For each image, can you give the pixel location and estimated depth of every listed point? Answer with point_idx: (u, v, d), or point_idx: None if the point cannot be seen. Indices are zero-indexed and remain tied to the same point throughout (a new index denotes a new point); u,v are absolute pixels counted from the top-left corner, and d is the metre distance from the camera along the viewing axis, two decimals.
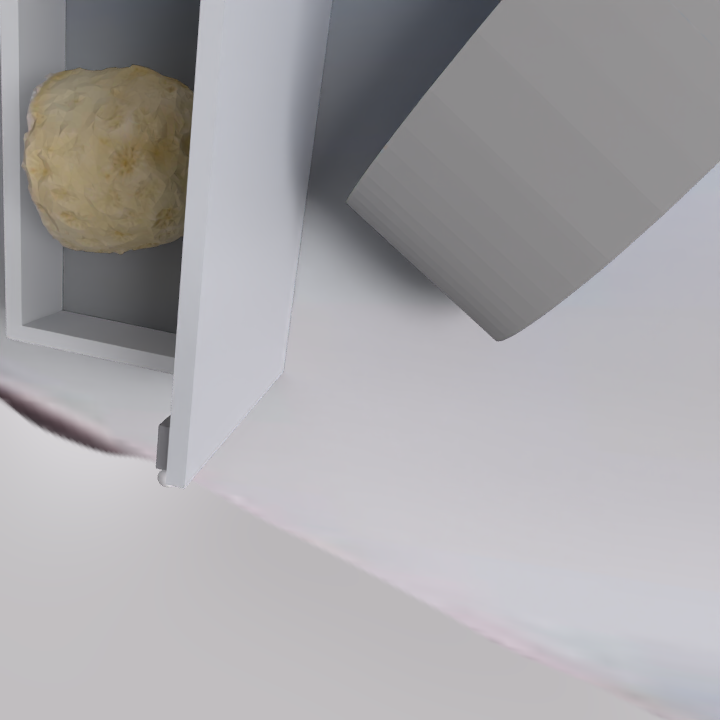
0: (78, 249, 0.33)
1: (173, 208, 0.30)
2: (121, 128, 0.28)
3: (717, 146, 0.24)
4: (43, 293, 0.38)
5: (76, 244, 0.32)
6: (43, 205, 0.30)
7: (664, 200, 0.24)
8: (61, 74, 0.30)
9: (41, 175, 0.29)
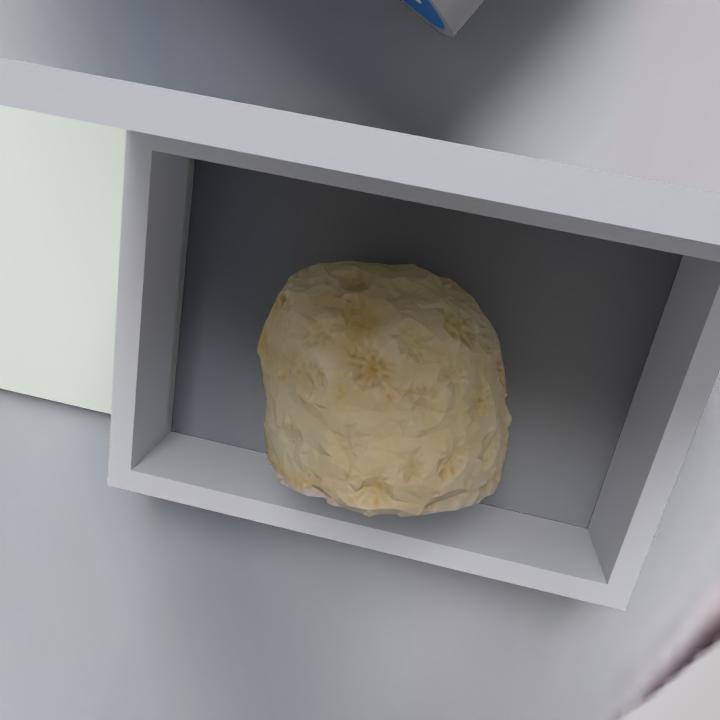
0: (499, 475, 0.23)
1: (445, 313, 0.20)
2: (324, 366, 0.19)
3: None
4: (560, 545, 0.27)
5: (490, 472, 0.21)
6: (427, 500, 0.20)
7: None
8: (268, 447, 0.23)
9: (384, 492, 0.20)
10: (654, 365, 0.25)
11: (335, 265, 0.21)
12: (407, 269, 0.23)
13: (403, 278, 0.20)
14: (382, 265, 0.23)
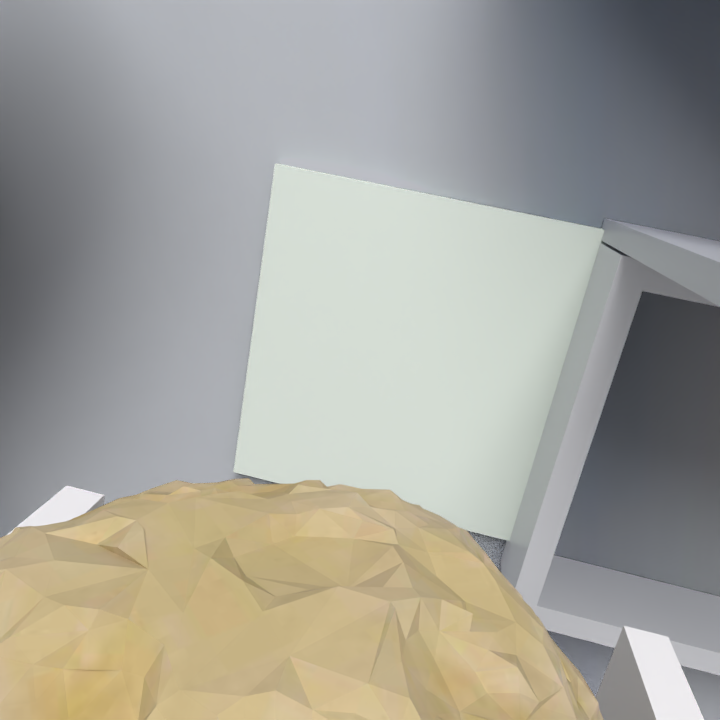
0: None
1: None
2: None
3: None
4: None
5: None
6: None
7: None
8: None
9: None
10: None
11: (34, 590, 0.06)
12: (333, 525, 0.07)
13: (272, 702, 0.05)
14: (250, 521, 0.07)
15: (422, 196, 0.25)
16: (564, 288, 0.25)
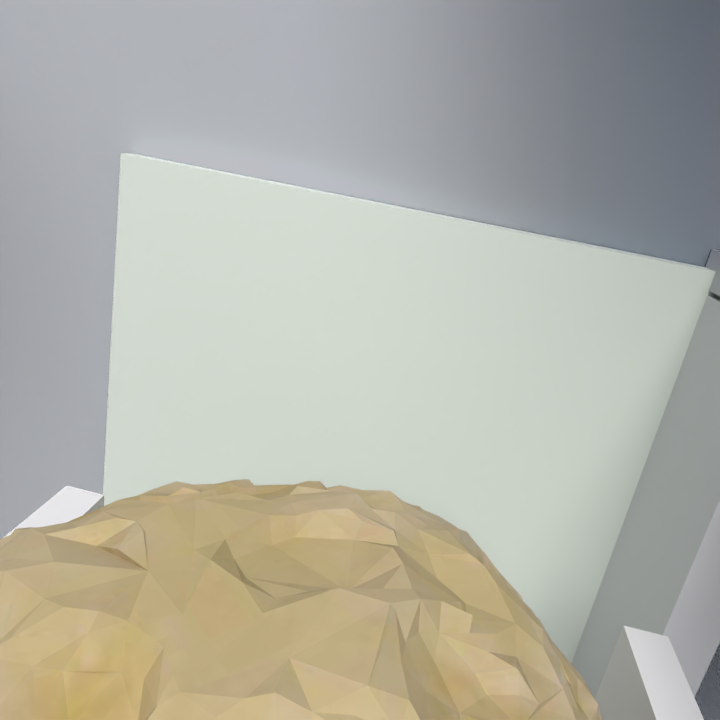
0: None
1: None
2: None
3: None
4: None
5: None
6: None
7: None
8: None
9: None
10: None
11: (34, 592, 0.06)
12: (333, 526, 0.07)
13: (272, 704, 0.05)
14: (250, 523, 0.07)
15: (383, 210, 0.14)
16: (637, 373, 0.14)
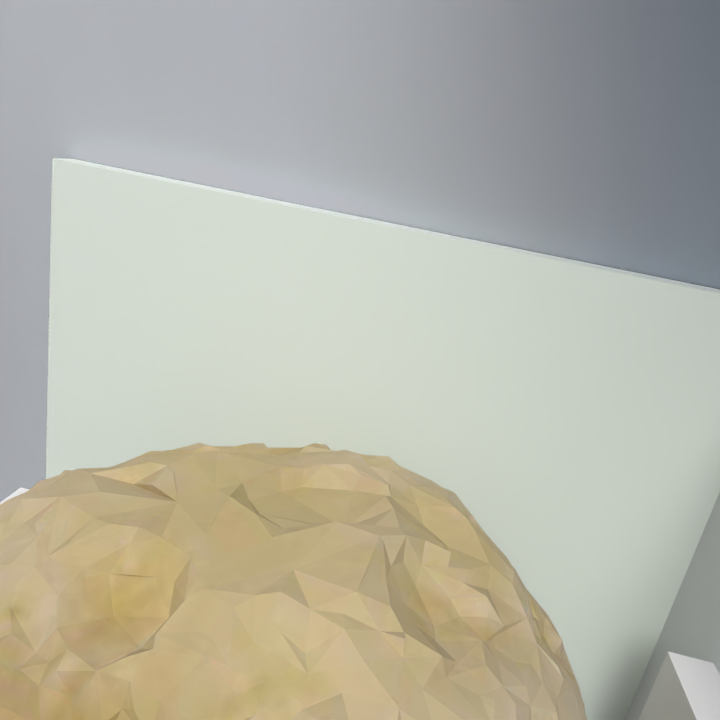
0: None
1: None
2: None
3: None
4: None
5: None
6: None
7: None
8: None
9: None
10: None
11: (85, 512, 0.07)
12: (335, 478, 0.08)
13: (278, 600, 0.06)
14: (263, 472, 0.08)
15: (375, 229, 0.11)
16: (692, 433, 0.11)
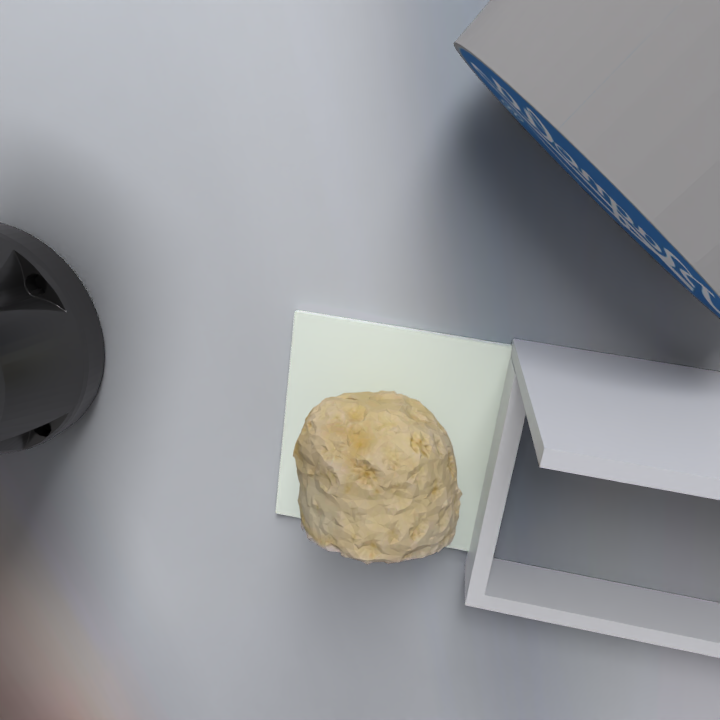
0: (454, 531, 0.34)
1: (411, 436, 0.32)
2: (337, 472, 0.31)
3: None
4: None
5: (445, 532, 0.33)
6: (404, 553, 0.32)
7: None
8: (301, 515, 0.35)
9: (376, 549, 0.31)
10: None
11: (342, 402, 0.33)
12: (389, 396, 0.35)
13: (385, 412, 0.32)
14: (373, 395, 0.35)
15: (392, 329, 0.37)
16: (490, 384, 0.37)
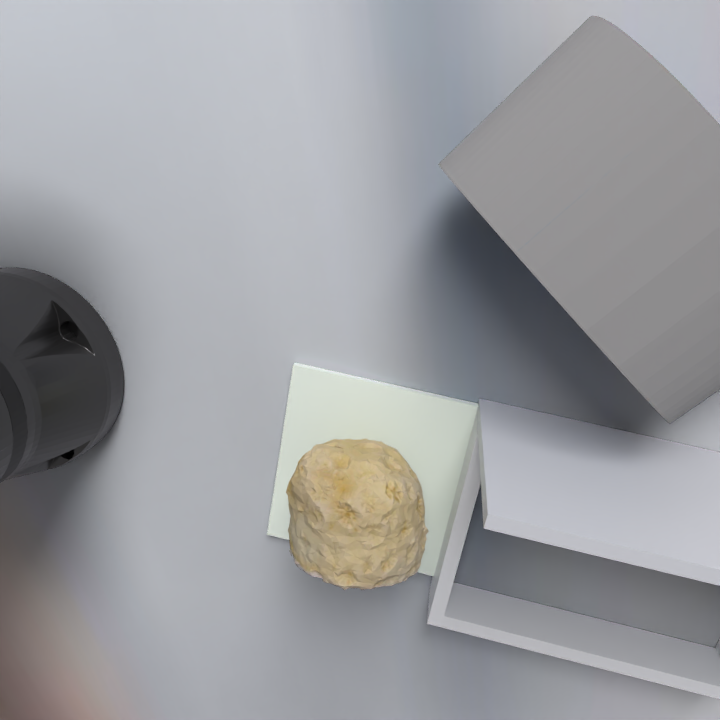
0: (419, 563, 0.41)
1: (386, 484, 0.38)
2: (323, 511, 0.37)
3: None
4: (703, 662, 0.44)
5: (412, 564, 0.39)
6: (375, 581, 0.38)
7: None
8: (290, 543, 0.41)
9: (352, 577, 0.38)
10: None
11: (330, 450, 0.39)
12: (371, 445, 0.41)
13: (366, 462, 0.38)
14: (356, 444, 0.41)
15: (377, 385, 0.43)
16: (457, 436, 0.44)
